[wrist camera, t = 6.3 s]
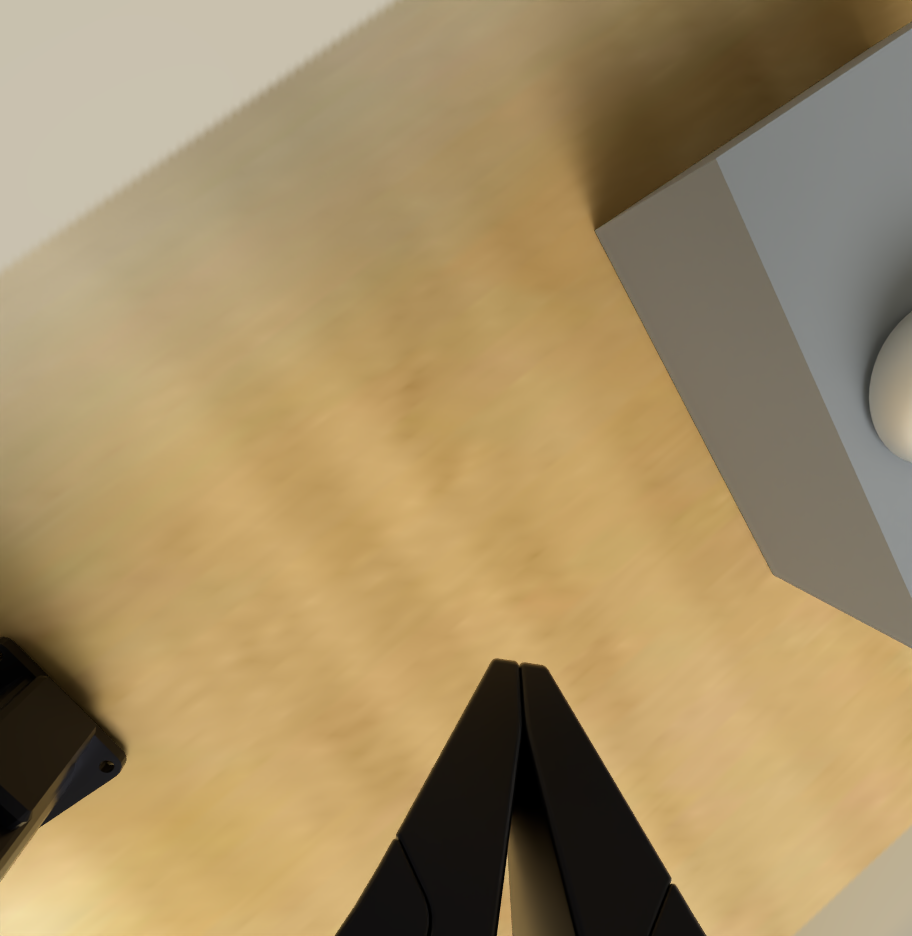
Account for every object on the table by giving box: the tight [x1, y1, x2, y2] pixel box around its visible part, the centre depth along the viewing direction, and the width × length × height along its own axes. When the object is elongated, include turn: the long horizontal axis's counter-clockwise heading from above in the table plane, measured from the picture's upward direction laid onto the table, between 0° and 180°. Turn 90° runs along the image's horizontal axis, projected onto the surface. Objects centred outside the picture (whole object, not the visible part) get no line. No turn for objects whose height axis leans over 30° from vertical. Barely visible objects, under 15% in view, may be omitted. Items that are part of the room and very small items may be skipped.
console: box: [595, 22, 912, 648], centre depth 18 cm, size 12×16×7 cm
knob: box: [869, 312, 912, 463], centre depth 15 cm, size 4×4×6 cm
